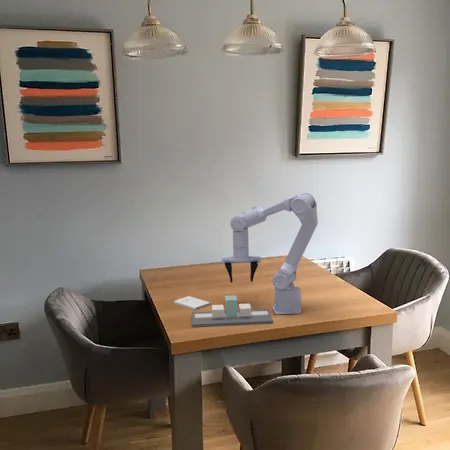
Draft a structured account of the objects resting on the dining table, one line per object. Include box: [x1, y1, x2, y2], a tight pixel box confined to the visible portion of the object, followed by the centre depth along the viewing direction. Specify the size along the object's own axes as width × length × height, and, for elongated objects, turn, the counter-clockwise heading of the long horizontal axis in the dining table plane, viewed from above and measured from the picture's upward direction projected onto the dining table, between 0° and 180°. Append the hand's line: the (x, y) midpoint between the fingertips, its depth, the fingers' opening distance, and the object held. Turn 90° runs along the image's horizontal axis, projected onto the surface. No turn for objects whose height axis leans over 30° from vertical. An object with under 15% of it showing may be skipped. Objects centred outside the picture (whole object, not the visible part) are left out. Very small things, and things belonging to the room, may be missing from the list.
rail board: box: [191, 303, 274, 328], centre depth 190 cm, size 28×12×5 cm, turn 94°
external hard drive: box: [173, 295, 212, 311], centre depth 207 cm, size 2×8×12 cm
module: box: [224, 294, 239, 317], centre depth 190 cm, size 4×5×6 cm
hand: (241, 281), depth 203 cm, fingers open, 7 cm apart
